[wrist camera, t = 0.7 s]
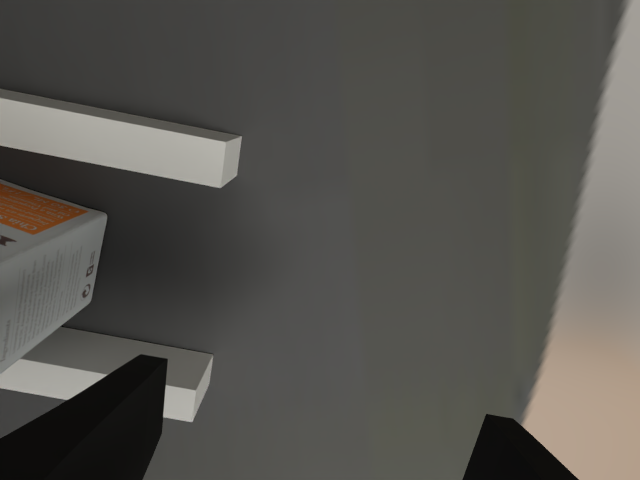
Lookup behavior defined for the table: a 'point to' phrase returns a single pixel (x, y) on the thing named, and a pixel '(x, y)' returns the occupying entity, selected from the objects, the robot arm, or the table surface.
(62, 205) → the skincare box
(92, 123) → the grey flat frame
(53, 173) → the table surface
